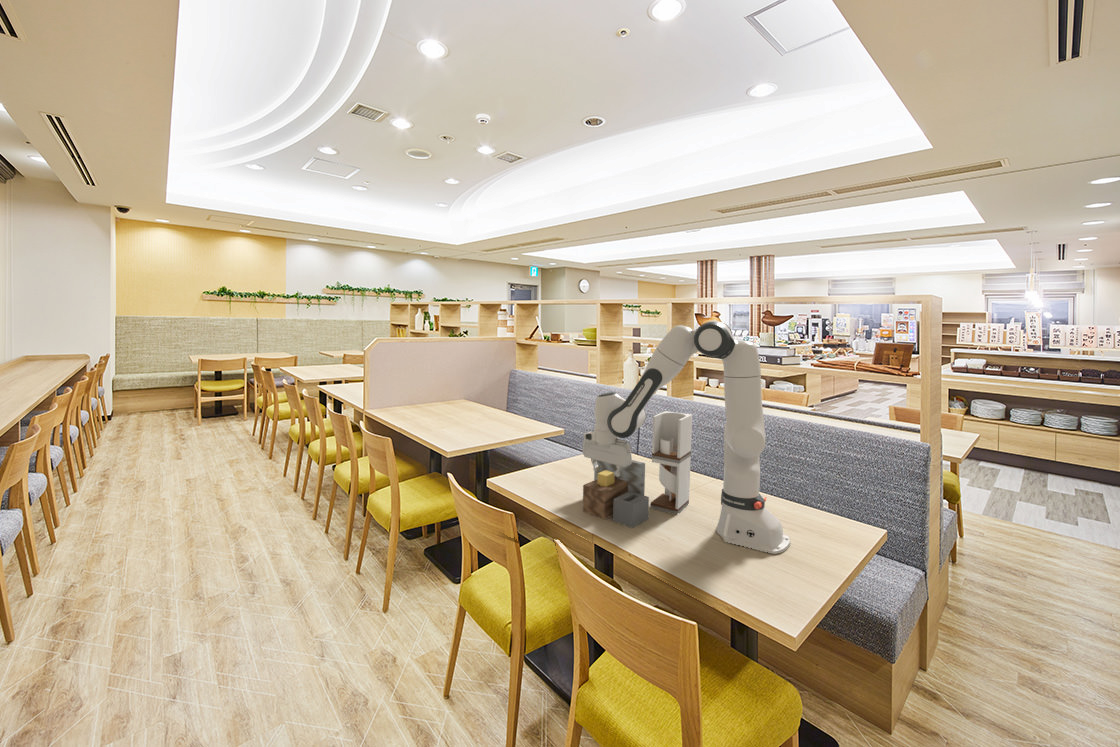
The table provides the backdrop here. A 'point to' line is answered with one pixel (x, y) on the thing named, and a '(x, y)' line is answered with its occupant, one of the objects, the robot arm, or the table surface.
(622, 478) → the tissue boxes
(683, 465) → the display case
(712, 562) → the table surface
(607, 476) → the yellow tabbed block
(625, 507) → the dark gray slotted block
